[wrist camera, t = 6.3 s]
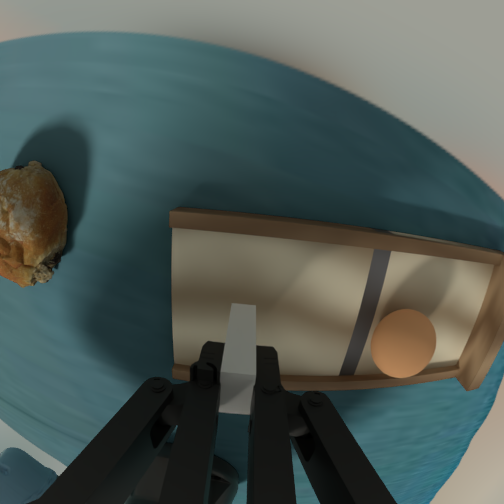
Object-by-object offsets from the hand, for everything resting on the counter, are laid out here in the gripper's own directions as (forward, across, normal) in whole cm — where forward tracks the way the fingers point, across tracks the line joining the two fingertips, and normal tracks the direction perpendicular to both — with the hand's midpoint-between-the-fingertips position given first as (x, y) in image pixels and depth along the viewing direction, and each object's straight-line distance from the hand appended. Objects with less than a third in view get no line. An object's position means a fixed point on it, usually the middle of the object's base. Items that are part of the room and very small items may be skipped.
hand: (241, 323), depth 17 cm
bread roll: (+3, +19, -5) cm, 20 cm away
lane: (+3, -10, 0) cm, 10 cm away
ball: (0, -14, +1) cm, 14 cm away
